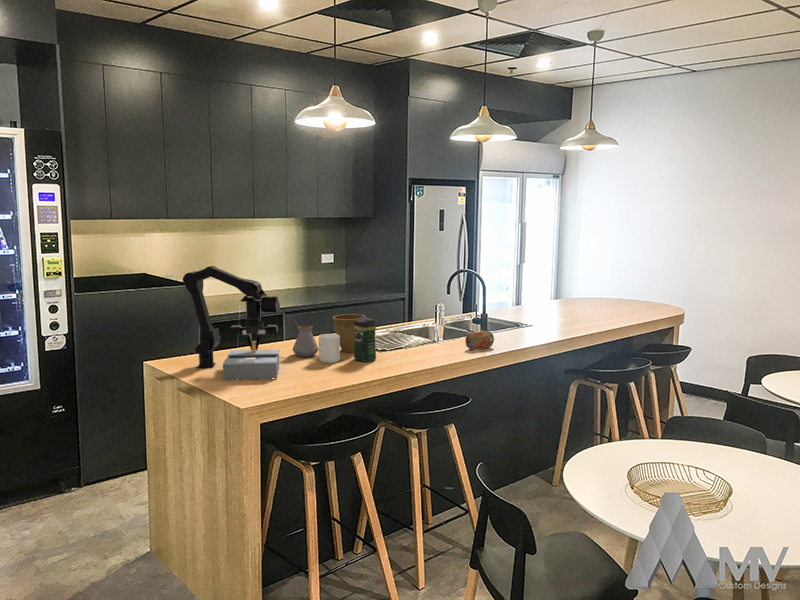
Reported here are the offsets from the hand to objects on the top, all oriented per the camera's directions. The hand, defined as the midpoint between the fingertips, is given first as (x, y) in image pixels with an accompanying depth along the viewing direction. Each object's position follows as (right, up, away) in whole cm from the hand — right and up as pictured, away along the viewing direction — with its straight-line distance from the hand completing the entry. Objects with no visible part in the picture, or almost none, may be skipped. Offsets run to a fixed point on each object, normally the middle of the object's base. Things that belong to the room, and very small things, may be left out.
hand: (254, 350), depth 265 cm
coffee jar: (+44, -6, +17) cm, 48 cm away
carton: (+1, -9, -9) cm, 13 cm away
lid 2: (+2, -3, -14) cm, 14 cm away
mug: (+28, -6, +15) cm, 33 cm away
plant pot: (+36, -3, +34) cm, 50 cm away
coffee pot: (+15, -4, +29) cm, 32 cm away
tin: (+97, -3, +41) cm, 105 cm away
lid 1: (0, -1, 0) cm, 1 cm away
